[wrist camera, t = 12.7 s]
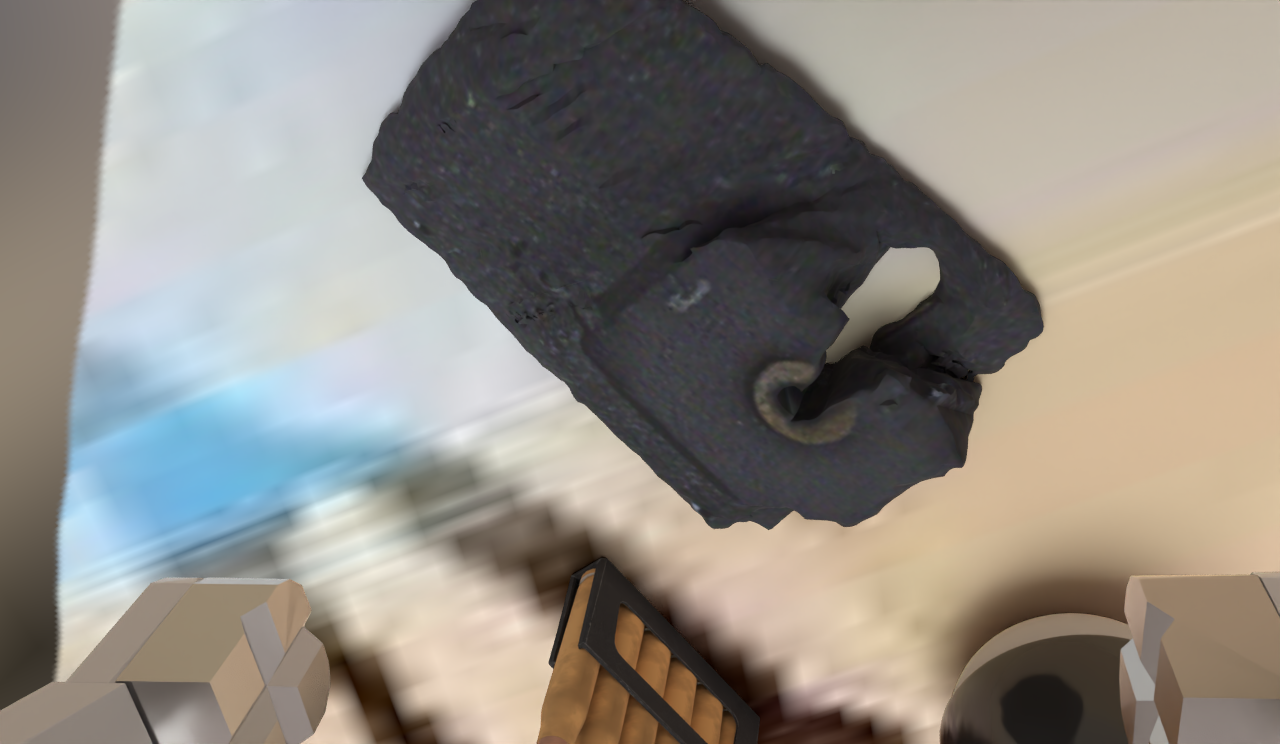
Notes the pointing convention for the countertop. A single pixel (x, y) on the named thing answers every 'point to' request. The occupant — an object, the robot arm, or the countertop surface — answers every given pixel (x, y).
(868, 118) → the countertop surface
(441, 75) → the dark slate chunk
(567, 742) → the ammunition clip
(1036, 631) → the pump dispenser
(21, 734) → the robot arm
